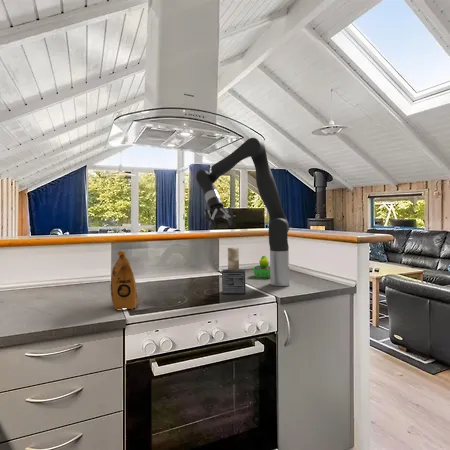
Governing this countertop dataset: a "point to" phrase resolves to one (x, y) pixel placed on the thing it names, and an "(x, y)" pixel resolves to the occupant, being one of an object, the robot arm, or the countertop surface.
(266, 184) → the robot arm
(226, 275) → the small box
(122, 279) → the coffee package
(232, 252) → the birch cylinder
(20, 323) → the countertop surface
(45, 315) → the countertop surface
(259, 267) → the fruit basket
